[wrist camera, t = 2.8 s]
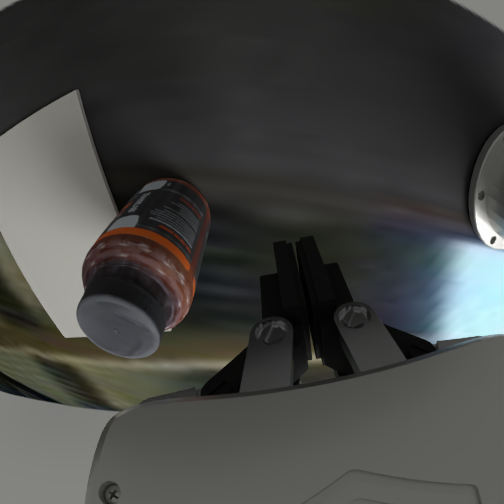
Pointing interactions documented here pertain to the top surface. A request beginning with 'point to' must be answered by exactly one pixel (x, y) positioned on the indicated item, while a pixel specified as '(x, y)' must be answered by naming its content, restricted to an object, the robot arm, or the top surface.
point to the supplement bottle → (144, 268)
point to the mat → (54, 204)
